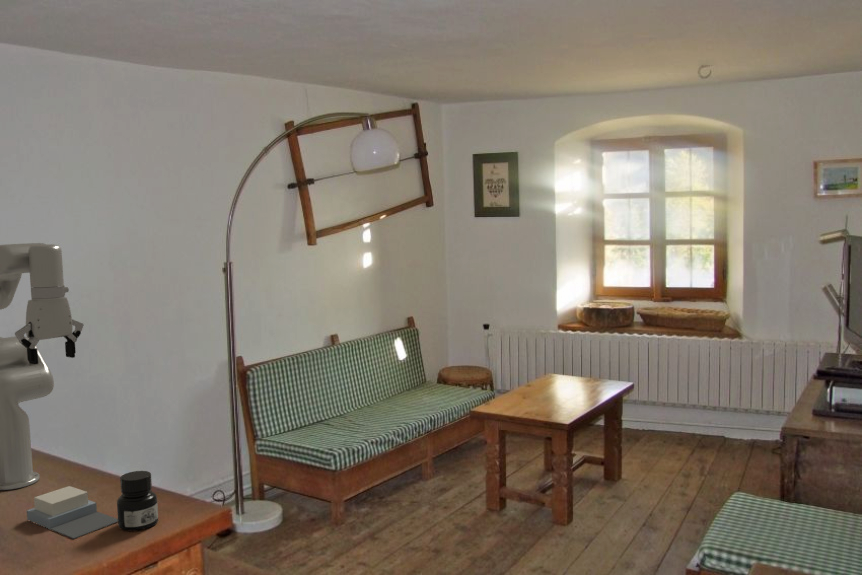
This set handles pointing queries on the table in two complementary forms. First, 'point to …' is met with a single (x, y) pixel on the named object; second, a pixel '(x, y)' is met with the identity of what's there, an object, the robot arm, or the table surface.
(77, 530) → the mat
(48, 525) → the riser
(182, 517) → the table surface
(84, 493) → the tile
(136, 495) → the ink bottle
